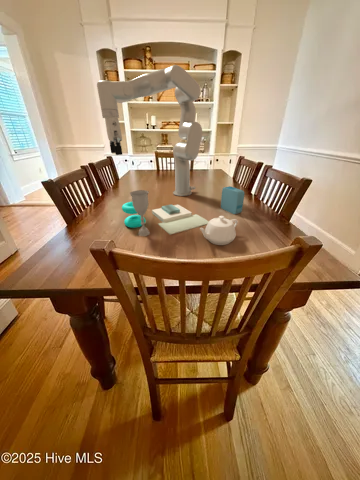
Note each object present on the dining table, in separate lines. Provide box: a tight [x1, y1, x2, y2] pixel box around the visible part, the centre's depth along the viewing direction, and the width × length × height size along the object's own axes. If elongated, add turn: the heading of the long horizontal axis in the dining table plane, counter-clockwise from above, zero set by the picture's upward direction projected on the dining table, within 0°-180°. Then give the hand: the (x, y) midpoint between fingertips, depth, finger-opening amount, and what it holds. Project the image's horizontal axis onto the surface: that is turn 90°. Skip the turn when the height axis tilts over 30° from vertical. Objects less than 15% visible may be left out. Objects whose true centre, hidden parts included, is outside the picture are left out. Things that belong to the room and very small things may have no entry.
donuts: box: [121, 201, 147, 229], centre depth 92 cm, size 10×10×10 cm
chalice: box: [129, 189, 151, 237], centre depth 82 cm, size 7×7×18 cm
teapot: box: [199, 215, 239, 246], centre depth 79 cm, size 20×12×10 cm, turn 123°
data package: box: [220, 185, 245, 215], centre depth 105 cm, size 12×4×12 cm, turn 30°
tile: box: [160, 203, 180, 215], centre depth 104 cm, size 6×9×2 cm, turn 30°
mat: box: [157, 213, 210, 236], centre depth 94 cm, size 22×12×1 cm, turn 120°
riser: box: [151, 204, 193, 223], centre depth 104 cm, size 16×14×2 cm
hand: (116, 153), depth 102 cm, fingers open, 9 cm apart
